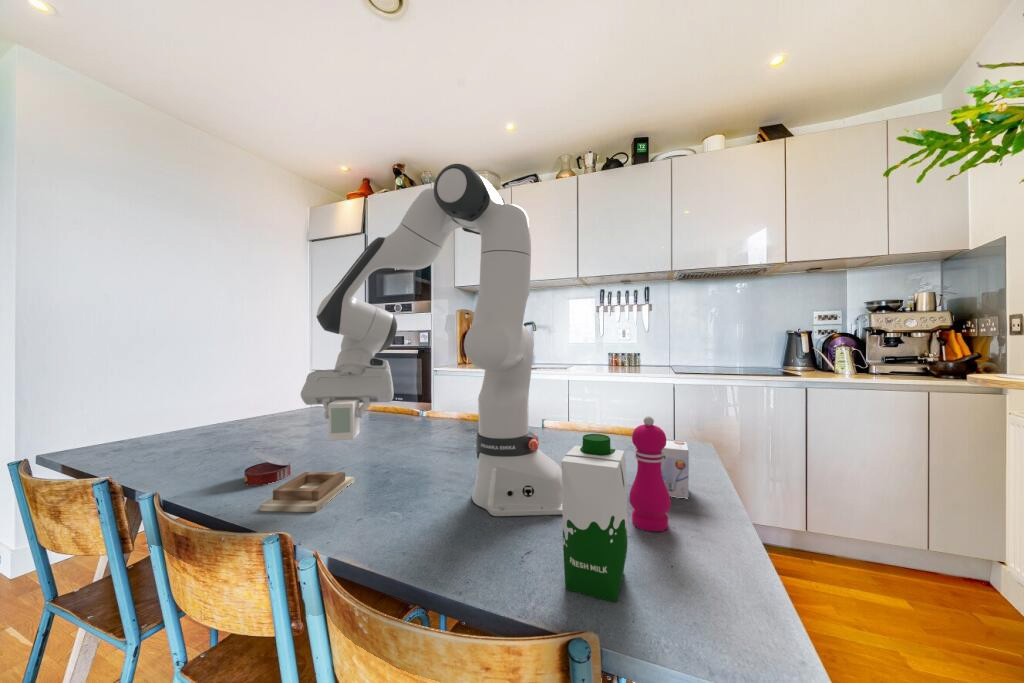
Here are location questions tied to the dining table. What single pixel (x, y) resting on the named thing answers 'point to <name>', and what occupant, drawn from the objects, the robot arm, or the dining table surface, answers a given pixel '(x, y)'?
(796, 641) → the dining table surface
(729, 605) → the dining table surface
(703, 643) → the dining table surface
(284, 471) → the canned food
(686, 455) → the light bulb box
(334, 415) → the picture block
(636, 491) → the pepper mill
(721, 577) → the dining table surface
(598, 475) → the milk carton
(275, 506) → the display base
